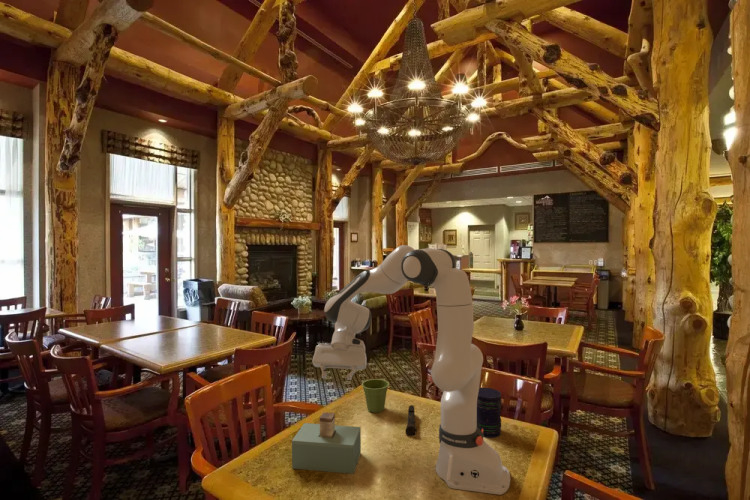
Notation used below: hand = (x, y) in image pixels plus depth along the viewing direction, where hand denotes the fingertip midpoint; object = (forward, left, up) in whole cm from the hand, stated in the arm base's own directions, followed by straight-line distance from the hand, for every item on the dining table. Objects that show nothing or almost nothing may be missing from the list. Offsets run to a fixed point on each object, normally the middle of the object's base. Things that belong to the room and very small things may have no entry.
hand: (336, 378), depth 140 cm
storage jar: (-49, -29, -23) cm, 62 cm away
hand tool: (-20, -23, -23) cm, 39 cm away
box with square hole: (-3, +12, -23) cm, 26 cm away
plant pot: (-2, -30, -23) cm, 38 cm away
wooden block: (-3, +12, -18) cm, 22 cm away
